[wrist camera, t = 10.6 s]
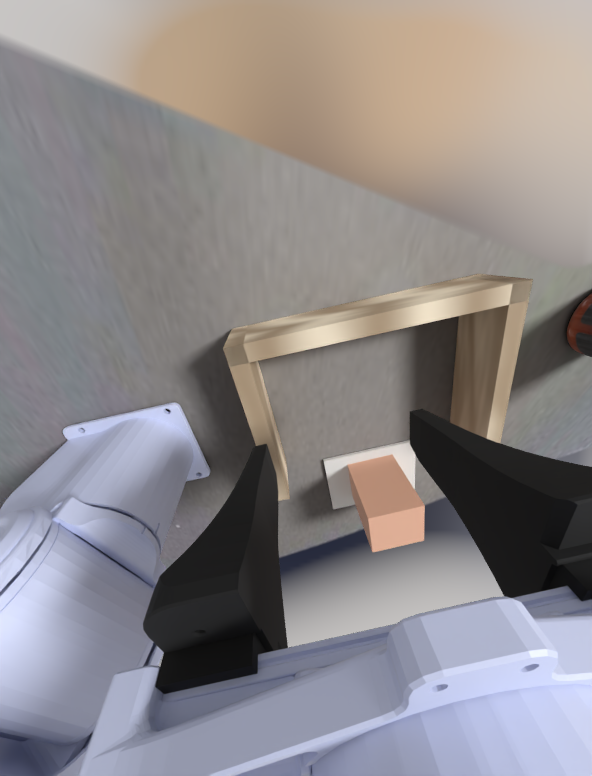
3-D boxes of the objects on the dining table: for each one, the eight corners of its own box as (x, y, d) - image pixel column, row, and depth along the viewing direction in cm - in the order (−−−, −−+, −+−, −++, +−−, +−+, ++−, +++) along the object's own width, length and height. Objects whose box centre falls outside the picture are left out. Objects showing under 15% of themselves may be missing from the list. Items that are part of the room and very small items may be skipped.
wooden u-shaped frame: (273, 462, 26) (275, 501, 22) (231, 328, 20) (222, 348, 16) (462, 420, 26) (498, 451, 22) (478, 273, 20) (532, 279, 16)
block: (352, 496, 28) (372, 552, 23) (347, 464, 26) (368, 518, 21) (394, 486, 28) (423, 540, 23) (392, 454, 26) (424, 505, 21)
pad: (332, 507, 29) (333, 509, 29) (323, 459, 26) (323, 461, 26) (413, 489, 29) (414, 491, 29) (413, 438, 26) (415, 440, 26)
